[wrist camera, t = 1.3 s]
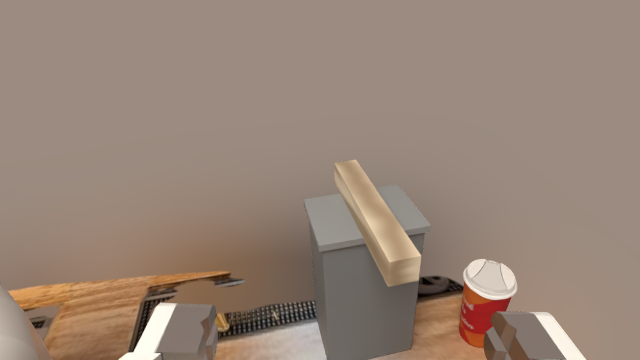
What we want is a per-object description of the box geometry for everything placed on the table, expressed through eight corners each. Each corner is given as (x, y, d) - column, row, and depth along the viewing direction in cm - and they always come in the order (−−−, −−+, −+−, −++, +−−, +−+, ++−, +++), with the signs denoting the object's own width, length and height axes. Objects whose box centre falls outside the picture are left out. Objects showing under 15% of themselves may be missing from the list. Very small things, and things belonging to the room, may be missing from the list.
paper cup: (456, 309, 67) (468, 251, 60) (502, 324, 64) (520, 265, 57) (448, 343, 61) (460, 283, 54) (498, 361, 58) (517, 300, 51)
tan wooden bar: (388, 286, 39) (389, 262, 37) (335, 182, 58) (334, 163, 57) (418, 280, 39) (421, 256, 38) (355, 179, 59) (355, 159, 57)
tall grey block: (327, 372, 58) (318, 246, 45) (313, 317, 68) (303, 199, 55) (415, 351, 60) (431, 225, 48) (390, 300, 70) (397, 184, 57)
